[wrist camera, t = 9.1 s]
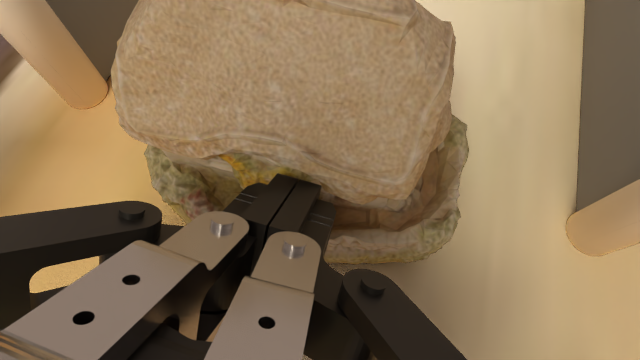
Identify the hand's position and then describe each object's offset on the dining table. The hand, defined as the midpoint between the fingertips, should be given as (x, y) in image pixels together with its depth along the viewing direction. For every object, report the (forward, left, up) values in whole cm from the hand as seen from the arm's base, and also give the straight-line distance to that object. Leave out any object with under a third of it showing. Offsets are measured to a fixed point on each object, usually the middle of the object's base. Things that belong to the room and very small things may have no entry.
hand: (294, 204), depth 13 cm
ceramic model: (-3, -3, -4) cm, 6 cm away
